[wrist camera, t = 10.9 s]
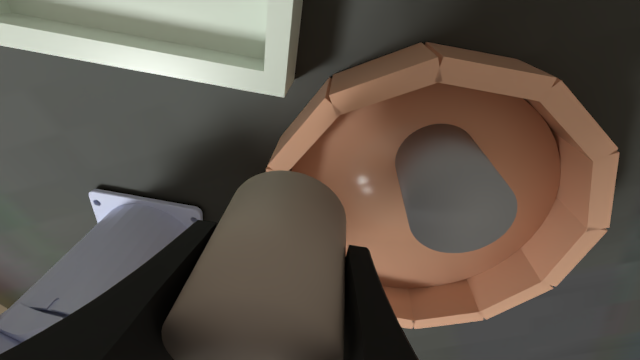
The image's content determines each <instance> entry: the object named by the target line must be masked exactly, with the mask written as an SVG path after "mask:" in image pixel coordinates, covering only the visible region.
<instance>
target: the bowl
mask: <svg viewBox="0 0 640 360" xmlns="http://www.w3.org/2000/svg"><path fill="white" fill-rule="evenodd" d="M433 124H451V125H455V126H457V127H460V128H462V129H463V130H465V131H466V132H467V133H468V134H469V135H470V136H471V137H472V138H473V140H474V141H475V142H476V144H477V145H478V146H479V148H480V149H481V150H482V152H483V153H484V154H485V155H486V157H487V158H488V159H489V161H490V162H491V163H492V165H493V166H494V167H495V169H496V170H497V171H498V172H499V174H500V175H501V176H502V178H503V179H504V180H505V182H506V183H507V184H508V185H509V187H510V188H511V189H512V191H513V192H514V194H515V196H516V200H517V214H516V217H515V220H514V222H513V223H512V225H511V227H510V228H509V229H508V230H507V232H506V233H505V234H504V235H502V236H501V237H500V238H499V239H497V240H496V241H494V242H493V243H491V244H489V245H487V246H485V247H483V248H480V249H477V250H474V251H470V252H464V253H444V252H439V251H435V250H432V249H430V248H428V247H426V246H424V245H422V244H421V243H420V242H419V241H418V240H416V238H415V237H414V236H413V234H412V232H411V230H410V227H409V223H408V219H407V215H406V210H405V206H404V202H403V198H402V193H401V189H400V185H399V181H398V176H397V172H396V167H395V158H396V154H397V151H398V149H399V147H400V145H401V144H402V143H403V141H404V140H405V139H406V138H407V137H408V136H409V135H410V134H412V133H413V132H415V131H416V130H418V129H420V128H423V127H425V126H428V125H433ZM550 129H551V130H550ZM617 150H618V147H617V146H616V145H615V144H614V143H613V141H612V140H611V139H610V138H609V137H608V135H607V134H606V133H605V132H604V131H603V129H602V128H601V127H600V126H599V125H598V123H597V122H596V121H595V120H594V119H593V117H592V116H591V115H590V114H589V113H588V111H587V110H586V109H585V108H584V107H583V105H582V104H581V103H580V102H579V101H578V99H577V98H576V97H575V96H574V95H573V93H572V92H571V91H570V90H569V89H568V87H567V86H566V85H565V84H564V83H563V81H562V80H560V79H558V78H557V77H554V76H552V75H550V74H548V73H546V72H544V71H542V70H540V69H538V68H535V67H533V66H531V65H529V64H527V63H525V62H523V61H521V60H518V59H515V58H510V57H504V56H499V55H494V54H488V53H483V52H478V51H472V50H467V49H462V48H456V47H451V46H446V45H440V44H435V43H430V42H426V43H425V45H424V44H423V43H422V42H420V43H418V44H415V45H412V46H409V47H407V48H404V49H401V50H399V51H396V52H393V53H390V54H388V55H385V56H382V57H380V58H377V59H374V60H371V61H369V62H366V63H363V64H361V65H358V66H355V67H352V68H350V69H347V70H344V71H342V72H339V73H336V74H333V77H332V79H331V78H330V77H329V78H328V80H327V81H326V82H325V83H324V85H323V86H322V87H321V88H320V89H319V91H318V92H317V93H316V94H315V95H314V97H313V98H312V99H311V100H310V102H309V103H308V104H307V105H306V106H305V108H304V109H303V110H302V111H301V112H300V114H299V115H298V116H297V117H296V119H295V120H294V121H293V122H292V123H291V125H290V126H289V127H288V128H287V129H286V131H285V132H284V133H283V134H282V136H281V137H280V139H279V141H278V143H277V146H276V148H275V150H274V152H273V154H272V157H271V159H270V161H269V163H268V165H267V168H266V172H269V171H278V170H283V171H293V172H298V173H302V174H306V175H308V176H311V177H313V178H315V179H317V180H319V181H321V182H322V183H323V184H325V185H326V186H328V187H329V188H330V189H331V190H332V191H333V192H334V193H335V194H336V195H337V197H338V198H339V200H340V201H341V203H342V205H343V207H344V210H345V214H346V254H347V250H348V247H349V245H355V246H361V247H367V248H368V249H369V251H370V254H371V257H372V260H373V263H374V266H375V269H376V271H377V274H378V276H379V279H380V282H381V284H382V287H383V289H384V291H385V294H386V296H387V298H388V300H389V302H390V305H391V307H392V309H393V311H394V313H395V316H396V318H397V320H398V322H399V324H400V326H401V327H403V328H409V329H412V328H413V326H414V328H415V329H419V328H427V327H435V326H443V325H451V324H459V323H466V322H474V321H482V320H483V317H484V318H485V319H489V318H491V317H493V316H495V315H497V314H499V313H502V312H504V311H506V310H508V309H510V308H512V307H514V306H517V305H519V304H521V303H523V302H525V301H527V300H530V299H532V298H534V297H536V296H538V295H540V294H543V293H545V292H547V291H549V290H551V289H553V287H552V286H557V285H558V284H559V283H560V282H561V281H562V280H563V279H564V278H565V277H566V275H567V274H568V273H569V272H570V271H571V270H572V269H573V268H574V267H575V266H576V265H577V263H578V262H579V261H580V260H581V259H582V258H583V257H584V256H585V255H586V254H587V253H588V252H589V250H590V249H591V248H592V247H593V246H594V245H595V244H596V243H597V242H598V241H599V240H600V238H601V237H602V236H603V235H604V234H605V233H606V232H607V230H606V229H605V228H609V226H610V219H611V212H612V204H613V197H614V190H615V182H616V175H617V168H618V161H619V153H620V152H618V151H617Z"/></svg>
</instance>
